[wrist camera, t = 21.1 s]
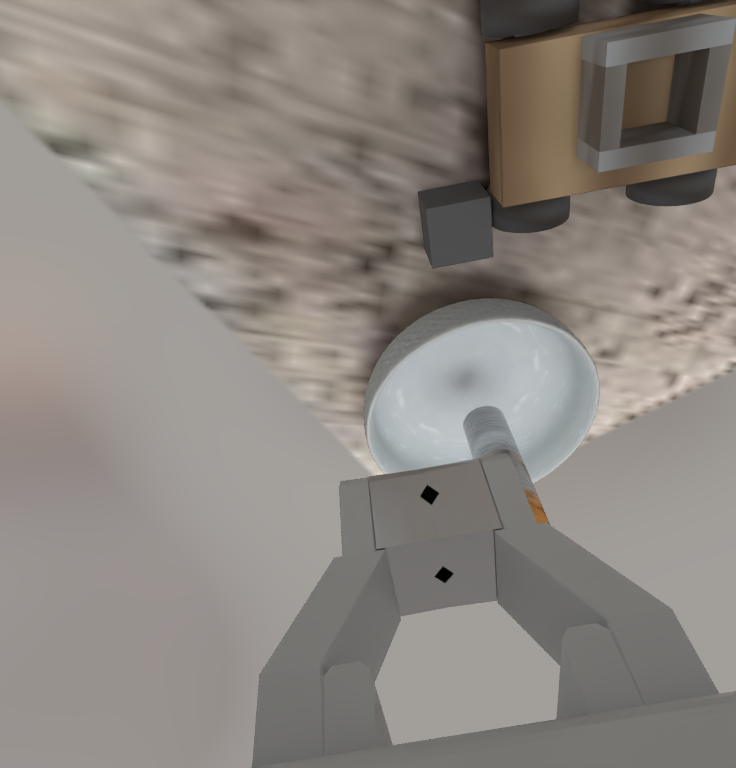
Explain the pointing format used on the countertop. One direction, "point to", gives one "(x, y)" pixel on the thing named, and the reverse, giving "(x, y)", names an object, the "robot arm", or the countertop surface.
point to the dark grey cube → (456, 223)
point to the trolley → (606, 105)
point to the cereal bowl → (480, 386)
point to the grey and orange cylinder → (500, 448)
